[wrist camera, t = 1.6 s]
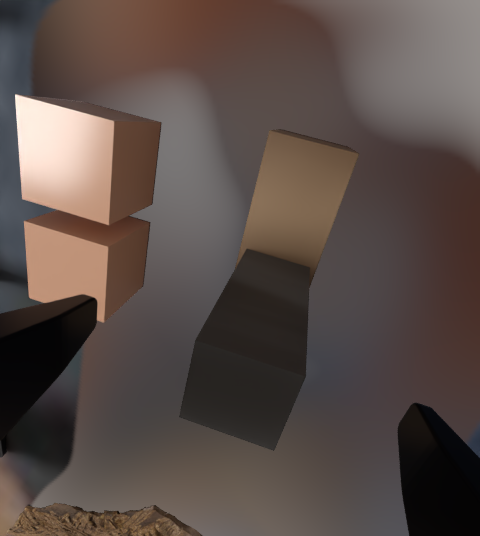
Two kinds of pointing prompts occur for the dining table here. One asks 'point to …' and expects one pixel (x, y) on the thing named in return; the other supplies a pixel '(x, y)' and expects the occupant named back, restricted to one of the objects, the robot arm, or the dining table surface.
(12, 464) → the dining table surface
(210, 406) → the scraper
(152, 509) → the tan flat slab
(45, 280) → the block
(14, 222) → the dining table surface
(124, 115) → the block
